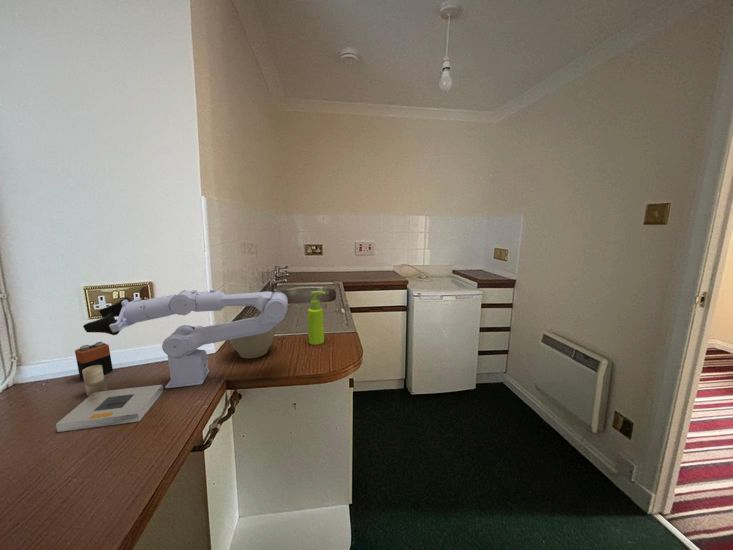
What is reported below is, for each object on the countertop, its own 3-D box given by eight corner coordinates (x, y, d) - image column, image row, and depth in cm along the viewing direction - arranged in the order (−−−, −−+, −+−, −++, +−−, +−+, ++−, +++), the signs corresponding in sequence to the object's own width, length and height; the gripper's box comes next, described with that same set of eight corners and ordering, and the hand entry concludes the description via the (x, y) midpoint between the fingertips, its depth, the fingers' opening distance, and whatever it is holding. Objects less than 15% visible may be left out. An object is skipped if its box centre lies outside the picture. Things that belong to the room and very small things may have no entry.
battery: (79, 378, 90) (73, 347, 88) (106, 368, 96) (101, 339, 94) (86, 381, 88) (80, 349, 86) (113, 371, 94) (108, 341, 92)
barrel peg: (109, 387, 85) (105, 364, 83) (100, 394, 81) (96, 371, 80) (92, 388, 84) (88, 365, 83) (82, 396, 80) (78, 372, 79)
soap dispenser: (325, 344, 113) (323, 293, 109) (307, 344, 113) (305, 293, 110) (327, 338, 119) (326, 289, 115) (310, 338, 119) (308, 289, 115)
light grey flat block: (163, 391, 82) (162, 384, 82) (139, 421, 70) (137, 413, 70) (95, 399, 79) (94, 391, 79) (57, 432, 66) (55, 423, 66)
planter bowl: (269, 340, 117) (267, 314, 115) (283, 355, 104) (281, 325, 102) (225, 350, 108) (222, 322, 106) (234, 368, 95) (231, 336, 93)
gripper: (153, 285, 87) (100, 295, 85) (131, 310, 74) (69, 322, 72) (162, 306, 90) (112, 316, 88) (143, 333, 77) (83, 346, 75)
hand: (93, 320), depth 80 cm, fingers open, 7 cm apart
